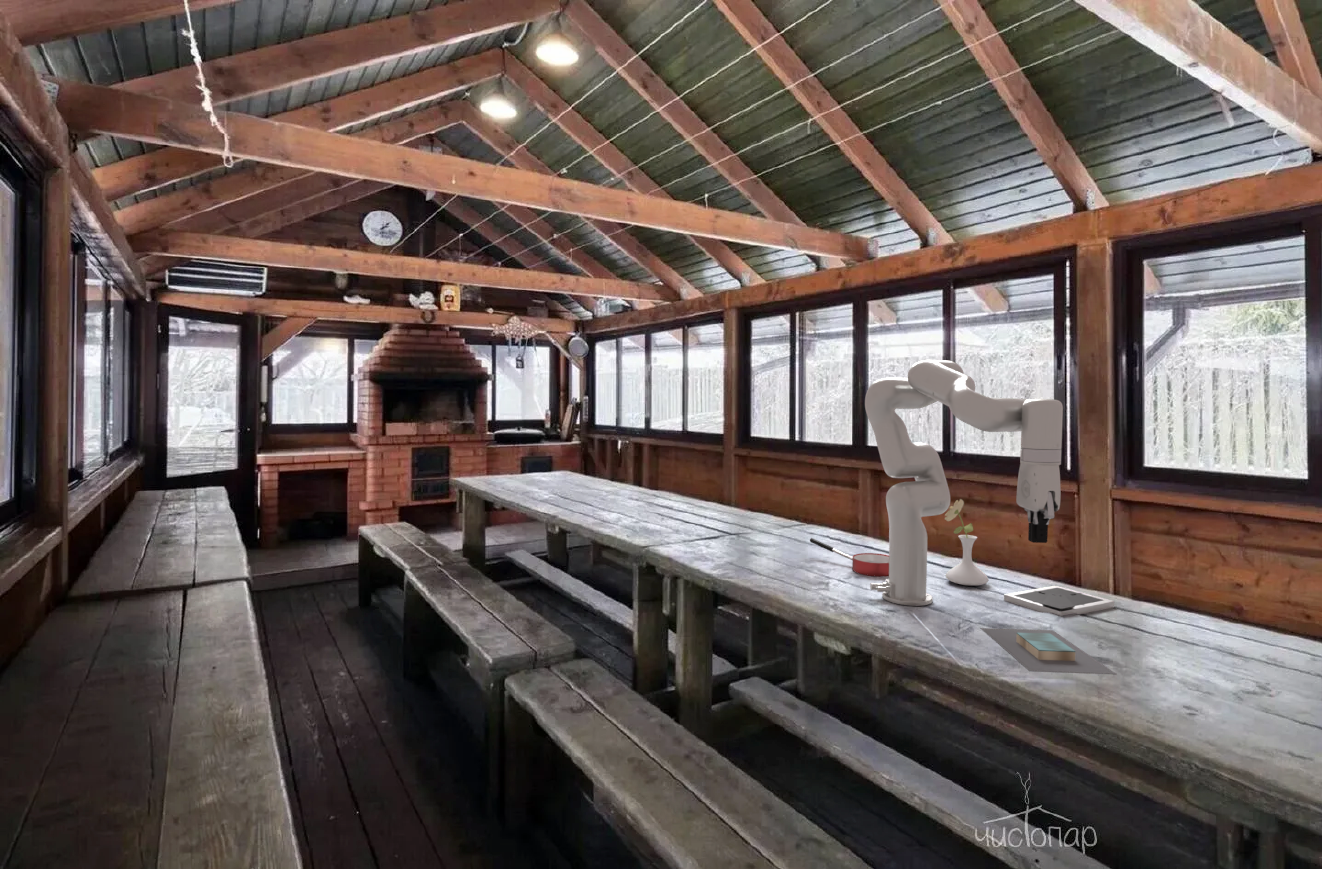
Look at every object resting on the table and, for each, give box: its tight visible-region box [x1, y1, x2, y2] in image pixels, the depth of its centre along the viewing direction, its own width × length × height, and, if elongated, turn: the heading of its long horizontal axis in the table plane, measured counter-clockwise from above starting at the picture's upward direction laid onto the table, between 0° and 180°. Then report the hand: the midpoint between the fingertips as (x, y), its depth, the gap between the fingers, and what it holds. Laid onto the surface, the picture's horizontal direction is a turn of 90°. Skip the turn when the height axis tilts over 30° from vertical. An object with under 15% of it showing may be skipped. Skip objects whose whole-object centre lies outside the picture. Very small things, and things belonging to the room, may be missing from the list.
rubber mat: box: [980, 627, 1117, 675], centre depth 137 cm, size 16×24×1 cm, turn 175°
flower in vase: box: [944, 498, 989, 587], centre depth 188 cm, size 13×11×25 cm
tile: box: [1016, 633, 1075, 661], centre depth 136 cm, size 7×2×10 cm
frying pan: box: [809, 537, 889, 578], centre depth 209 cm, size 32×13×6 cm, turn 41°
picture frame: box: [1003, 585, 1115, 617], centre depth 170 cm, size 16×3×21 cm
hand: (1037, 541), depth 139 cm, fingers closed
